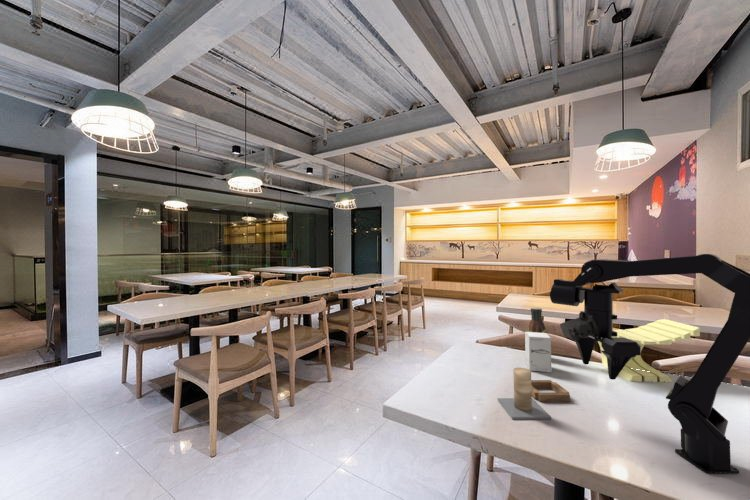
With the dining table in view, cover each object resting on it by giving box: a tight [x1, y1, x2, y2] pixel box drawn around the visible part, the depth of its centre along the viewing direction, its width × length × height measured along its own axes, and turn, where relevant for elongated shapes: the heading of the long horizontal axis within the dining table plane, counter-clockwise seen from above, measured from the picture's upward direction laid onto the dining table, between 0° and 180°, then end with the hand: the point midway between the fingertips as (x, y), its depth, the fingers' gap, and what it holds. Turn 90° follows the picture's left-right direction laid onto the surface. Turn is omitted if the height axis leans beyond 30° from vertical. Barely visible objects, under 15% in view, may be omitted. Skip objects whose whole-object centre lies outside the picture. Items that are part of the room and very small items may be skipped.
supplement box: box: [524, 331, 552, 374], centre depth 111 cm, size 7×7×13 cm
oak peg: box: [513, 367, 533, 411], centre depth 83 cm, size 4×4×10 cm
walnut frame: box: [531, 379, 571, 403], centre depth 91 cm, size 10×10×2 cm
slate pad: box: [497, 397, 552, 420], centre depth 83 cm, size 10×10×1 cm
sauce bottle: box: [528, 307, 547, 334], centre depth 123 cm, size 6×6×20 cm
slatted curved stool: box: [597, 318, 701, 383], centre depth 106 cm, size 30×16×18 cm, turn 85°
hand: (598, 371), depth 75 cm, fingers open, 9 cm apart
